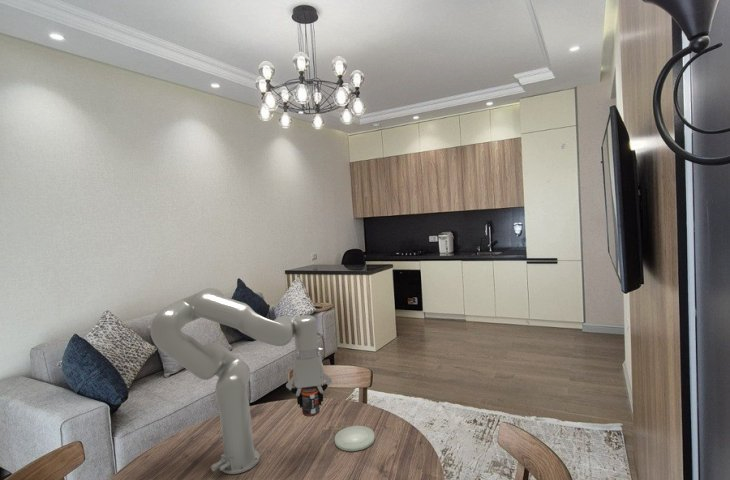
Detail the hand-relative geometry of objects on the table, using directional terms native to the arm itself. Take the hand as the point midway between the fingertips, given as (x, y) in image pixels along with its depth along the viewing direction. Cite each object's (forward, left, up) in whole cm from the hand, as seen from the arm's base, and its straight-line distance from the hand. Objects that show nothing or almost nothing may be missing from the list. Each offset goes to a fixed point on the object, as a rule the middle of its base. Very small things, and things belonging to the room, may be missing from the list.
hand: (310, 404), depth 136 cm
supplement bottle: (0, 0, -3) cm, 3 cm away
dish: (+11, -8, -16) cm, 22 cm away
